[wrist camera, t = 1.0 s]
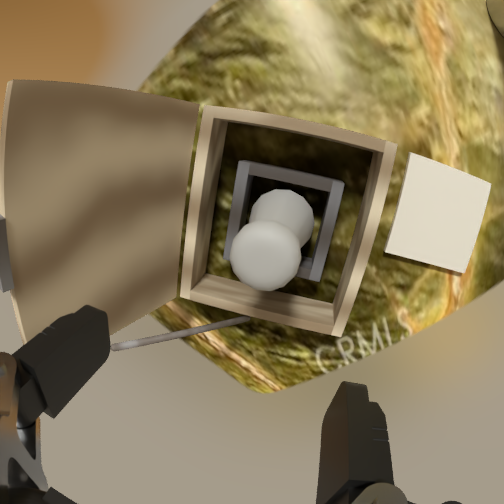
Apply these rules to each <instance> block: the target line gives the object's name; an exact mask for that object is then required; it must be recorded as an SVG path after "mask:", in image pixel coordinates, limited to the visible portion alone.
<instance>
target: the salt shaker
mask: <svg viewBox="0 0 504 504" xmlns="http://www.w3.org/2000/svg"><path fill="white" fill-rule="evenodd" d="M313 227H314V217H313V211H312V208H311V207H310V206H309V204H308V203H307V201H306V200H305V199H304V197H302V196H300V195H299V194H297V193H295V192H293V191H291V190H279V189H275V190H272V191H270V192H268V193H265V194H263V195H261V197H260V198H259V199H258V200H257V201H256V203H255V204H254V205H253V207H252V211H251V215H250V219H249V224H247V225H245V226H244V227H243V228H242V229H241V230H240V232H239V233H238V234H237V235H236V236H235V238H234V239H233V243H232V247H231V251H230V256H229V258H230V262H231V265H232V269H233V272H234V273H235V274H236V276H237V277H238V278H239V279H240V281H241V282H242V283H244V284H245V285H247V286H249V287H251V288H253V289H255V290H263V291H272V290H275V289H278V288H281V287H284V286H285V285H286V284H287V283H288V282H289V281H290V280H291V279H292V278H293V277H294V276H295V275H296V273H297V271H298V268H299V264H300V261H301V251H300V248H301V247H302V246H303V245H304V244H305V243H306V242H307V241H308V240H309V239H310V237H311V234H312V231H313Z"/></svg>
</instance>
